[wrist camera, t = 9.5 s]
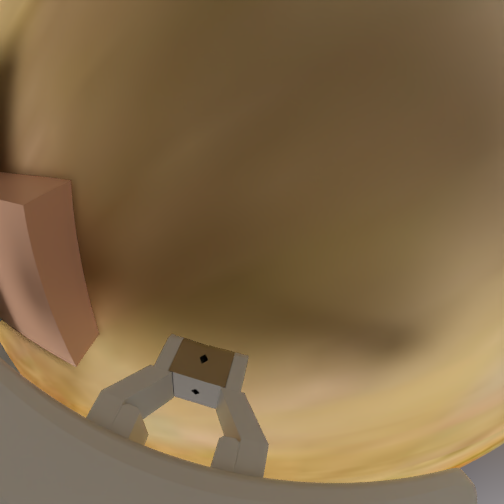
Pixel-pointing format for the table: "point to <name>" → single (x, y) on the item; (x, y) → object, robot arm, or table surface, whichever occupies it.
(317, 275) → the table surface
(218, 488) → the robot arm
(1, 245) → the tile
